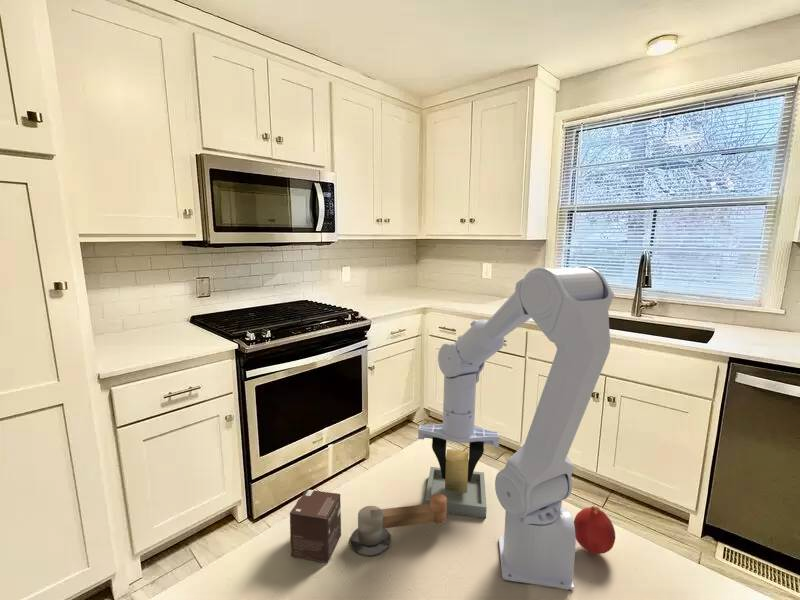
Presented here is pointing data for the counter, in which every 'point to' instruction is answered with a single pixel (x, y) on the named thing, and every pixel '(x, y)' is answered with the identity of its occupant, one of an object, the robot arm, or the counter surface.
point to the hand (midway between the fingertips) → (456, 477)
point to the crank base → (370, 550)
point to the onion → (594, 530)
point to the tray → (459, 494)
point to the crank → (398, 518)
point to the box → (315, 525)
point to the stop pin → (456, 471)
